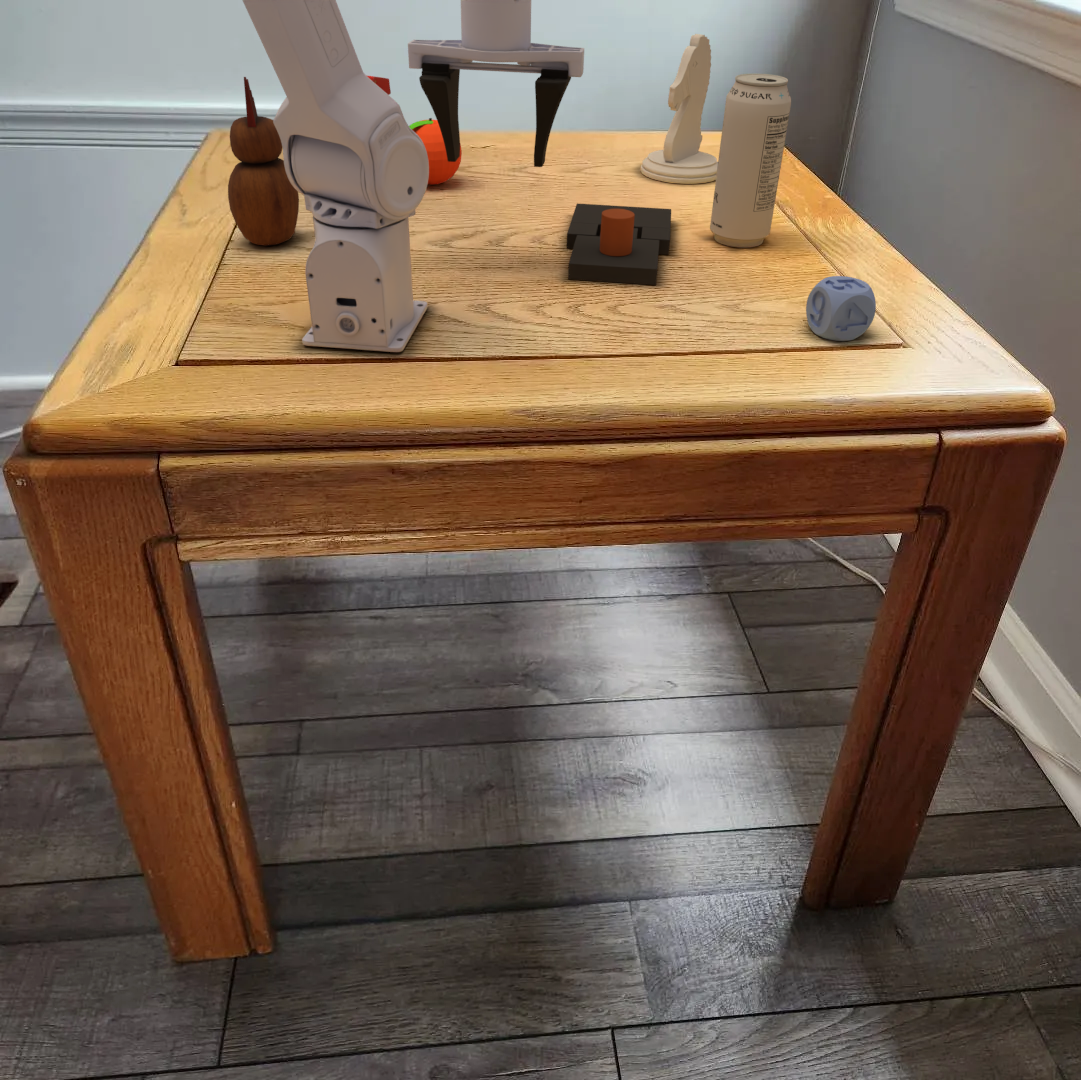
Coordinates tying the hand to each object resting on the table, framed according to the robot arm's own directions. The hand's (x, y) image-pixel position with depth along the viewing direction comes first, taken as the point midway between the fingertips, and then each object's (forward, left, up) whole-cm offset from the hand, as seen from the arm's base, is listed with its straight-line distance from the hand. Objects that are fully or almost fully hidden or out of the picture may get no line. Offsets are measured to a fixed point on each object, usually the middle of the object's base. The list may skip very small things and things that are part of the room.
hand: (496, 161), depth 84 cm
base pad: (+11, -11, -9) cm, 18 cm away
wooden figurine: (+3, +23, -10) cm, 25 cm away
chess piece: (+36, -17, -10) cm, 41 cm away
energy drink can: (+12, -23, -10) cm, 28 cm away
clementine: (+25, +12, -10) cm, 29 cm away
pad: (+3, -11, -9) cm, 15 cm away
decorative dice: (-10, -30, -10) cm, 33 cm away
